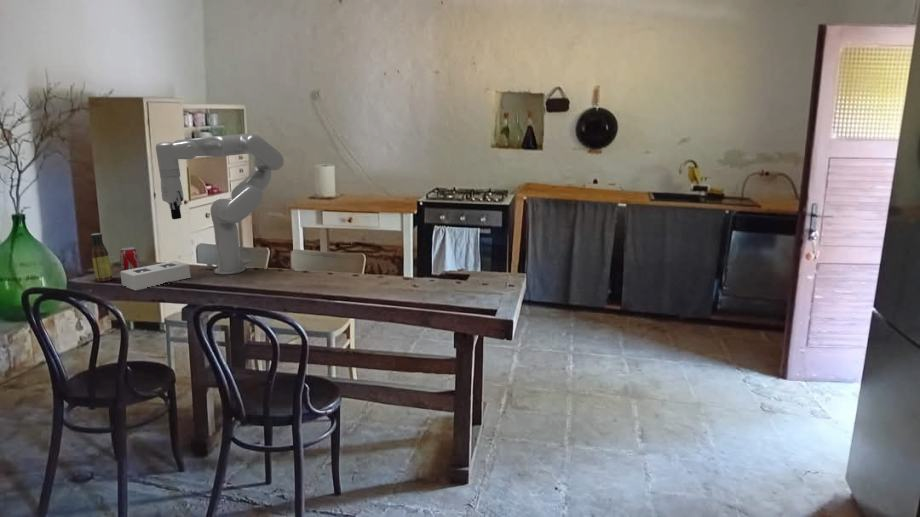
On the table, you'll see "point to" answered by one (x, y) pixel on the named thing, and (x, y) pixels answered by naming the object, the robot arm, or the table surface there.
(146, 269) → the outer pin
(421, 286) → the table surface
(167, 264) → the inner pin
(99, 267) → the sauce bottle
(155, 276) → the pin block
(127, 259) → the soda can
